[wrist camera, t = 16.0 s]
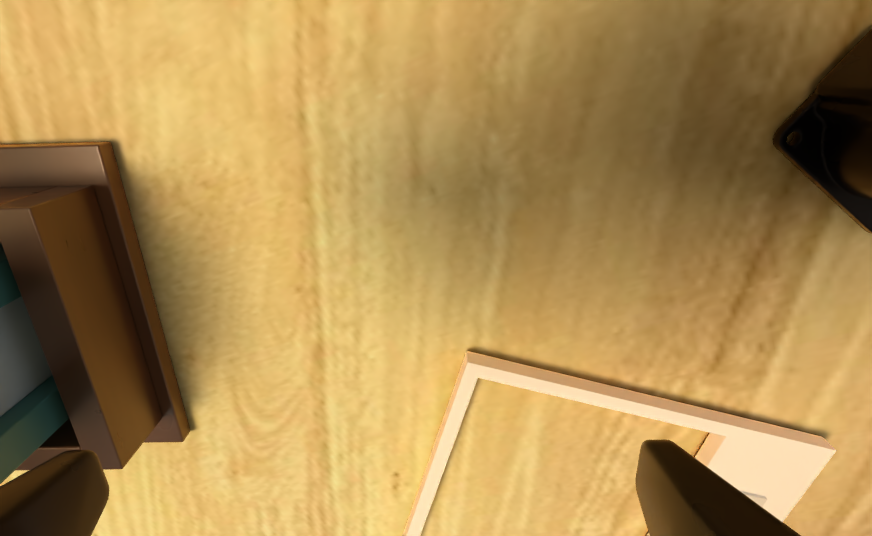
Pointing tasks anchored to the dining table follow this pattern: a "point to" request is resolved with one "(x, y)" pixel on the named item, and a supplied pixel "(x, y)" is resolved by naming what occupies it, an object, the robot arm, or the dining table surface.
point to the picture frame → (23, 381)
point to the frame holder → (88, 300)
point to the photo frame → (721, 452)
